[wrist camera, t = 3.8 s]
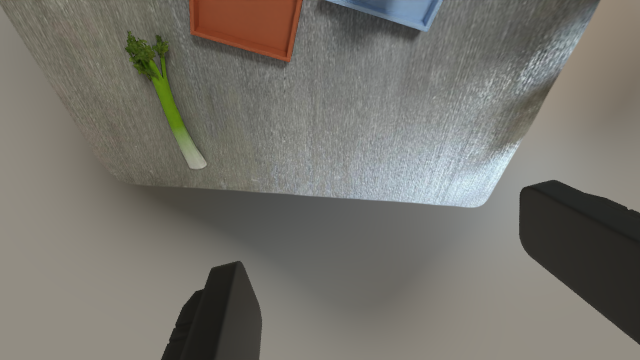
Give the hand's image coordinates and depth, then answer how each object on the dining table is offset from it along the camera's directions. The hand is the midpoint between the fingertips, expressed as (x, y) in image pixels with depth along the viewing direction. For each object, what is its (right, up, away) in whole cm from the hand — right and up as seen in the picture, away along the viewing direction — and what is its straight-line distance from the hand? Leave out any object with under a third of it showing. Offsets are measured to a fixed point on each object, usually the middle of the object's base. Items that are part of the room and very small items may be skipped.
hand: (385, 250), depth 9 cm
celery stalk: (-28, +16, +51) cm, 60 cm away
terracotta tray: (-12, +29, +36) cm, 48 cm away
